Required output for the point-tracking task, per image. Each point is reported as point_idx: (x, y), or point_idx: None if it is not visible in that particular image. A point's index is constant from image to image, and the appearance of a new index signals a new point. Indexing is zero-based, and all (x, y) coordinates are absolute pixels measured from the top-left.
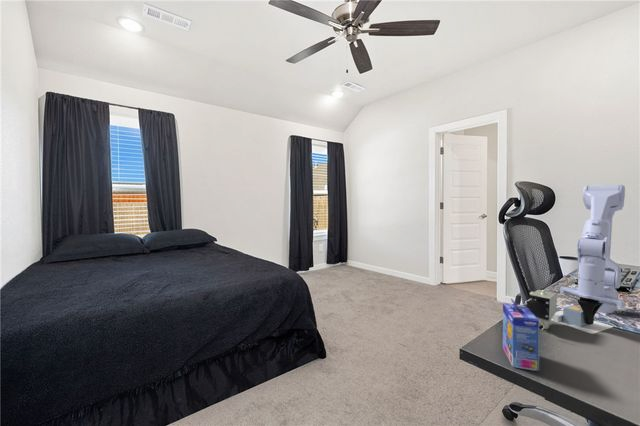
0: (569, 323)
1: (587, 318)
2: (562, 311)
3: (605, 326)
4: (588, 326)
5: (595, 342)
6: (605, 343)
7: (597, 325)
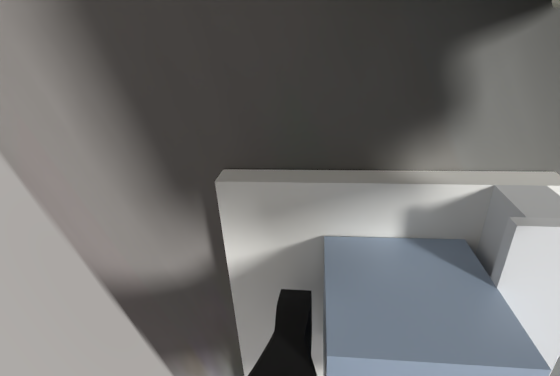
0: (411, 239)
1: (286, 327)
2: None
3: None
4: None
5: (156, 93)
6: (131, 145)
7: None
